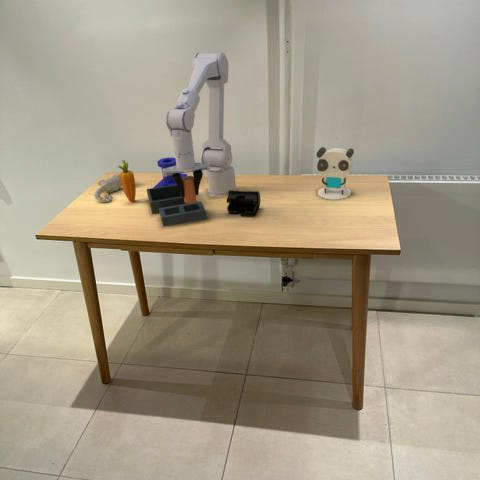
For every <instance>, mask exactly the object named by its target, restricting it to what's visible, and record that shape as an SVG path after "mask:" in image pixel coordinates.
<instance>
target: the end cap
mask: <svg viewBox="0 0 480 480" xmlns="http://www.w3.org/2000/svg"><path fill="white" fill-rule="evenodd" d="M226 204H228V205H227V207H226V209H227V212H228V213H227V214H228V215H234V216H235V215H236V216H237V215H239V216H241V217H246V218H247V217H248V218H249V217H250V218H255V217H256V216H257V214H258V211H259V210H260V207H261V193H260V191H258V190H237V189H236V190H229V191H228V195H227V198H226Z"/></svg>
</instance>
